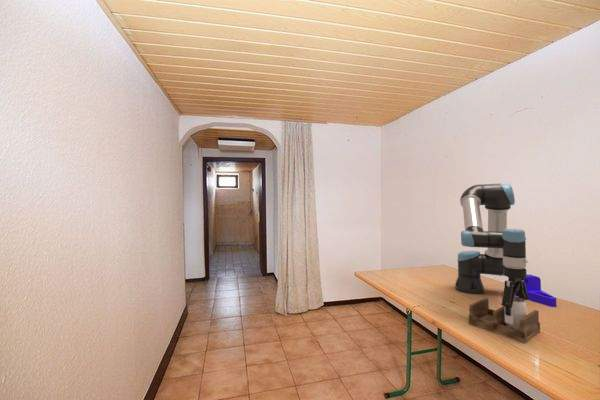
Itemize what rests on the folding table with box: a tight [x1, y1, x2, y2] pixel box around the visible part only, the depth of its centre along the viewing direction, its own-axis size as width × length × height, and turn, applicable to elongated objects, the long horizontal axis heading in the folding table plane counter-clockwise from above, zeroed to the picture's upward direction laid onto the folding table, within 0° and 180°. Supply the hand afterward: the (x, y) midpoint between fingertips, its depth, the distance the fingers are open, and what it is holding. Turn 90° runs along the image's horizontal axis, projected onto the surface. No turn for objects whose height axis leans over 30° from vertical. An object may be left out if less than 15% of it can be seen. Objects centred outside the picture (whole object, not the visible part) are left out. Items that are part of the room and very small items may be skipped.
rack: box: [468, 297, 541, 344], centre depth 114 cm, size 20×16×8 cm
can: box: [506, 296, 527, 330], centre depth 110 cm, size 6×6×12 cm
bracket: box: [515, 274, 557, 308], centre depth 145 cm, size 18×11×12 cm, turn 1°
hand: (515, 319), depth 110 cm, fingers open, 13 cm apart
